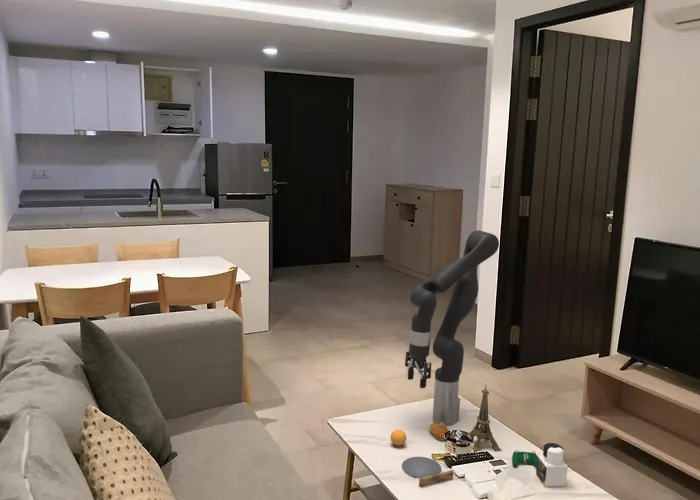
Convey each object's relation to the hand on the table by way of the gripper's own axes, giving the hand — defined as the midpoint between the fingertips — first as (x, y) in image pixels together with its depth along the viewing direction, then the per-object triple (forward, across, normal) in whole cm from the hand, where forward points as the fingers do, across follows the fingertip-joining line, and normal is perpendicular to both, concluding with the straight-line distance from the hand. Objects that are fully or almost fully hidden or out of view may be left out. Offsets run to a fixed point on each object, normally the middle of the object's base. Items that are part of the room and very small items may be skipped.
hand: (416, 383), depth 221 cm
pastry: (+18, -9, -6) cm, 21 cm away
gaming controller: (+17, -38, -21) cm, 46 cm away
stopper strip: (+18, -34, +13) cm, 41 cm away
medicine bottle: (+17, -48, -22) cm, 56 cm away
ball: (+15, -10, +12) cm, 21 cm away
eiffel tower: (+17, -21, -16) cm, 31 cm away
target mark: (+18, -26, +12) cm, 33 cm away
